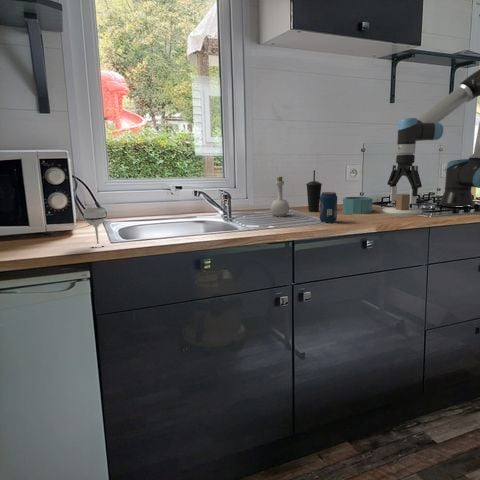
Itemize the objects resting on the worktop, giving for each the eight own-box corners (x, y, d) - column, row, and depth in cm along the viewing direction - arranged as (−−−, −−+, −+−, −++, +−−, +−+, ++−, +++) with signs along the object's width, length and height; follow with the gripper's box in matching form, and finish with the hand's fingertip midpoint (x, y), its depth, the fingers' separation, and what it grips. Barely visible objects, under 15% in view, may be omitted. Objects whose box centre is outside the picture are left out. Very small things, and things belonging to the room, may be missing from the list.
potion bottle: (278, 217, 174) (277, 177, 170) (266, 215, 181) (266, 176, 177) (293, 215, 178) (293, 176, 174) (281, 213, 185) (281, 175, 182)
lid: (405, 209, 187) (406, 192, 185) (431, 213, 171) (432, 195, 169) (374, 211, 183) (375, 193, 181) (397, 215, 167) (399, 197, 165)
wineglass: (111, 243, 128) (107, 207, 125) (107, 248, 121) (103, 210, 119) (89, 244, 127) (85, 208, 125) (84, 249, 120) (80, 211, 118)
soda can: (318, 220, 164) (319, 192, 161) (335, 220, 163) (336, 191, 160) (320, 223, 157) (321, 193, 154) (337, 223, 156) (338, 193, 154)
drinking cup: (317, 213, 185) (318, 170, 181) (303, 211, 190) (303, 170, 185) (324, 211, 191) (325, 170, 187) (310, 210, 196) (310, 170, 191)
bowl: (361, 210, 190) (362, 196, 188) (377, 213, 177) (378, 198, 176) (337, 212, 186) (338, 197, 185) (352, 215, 174) (352, 200, 173)
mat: (405, 210, 188) (405, 208, 187) (432, 214, 171) (432, 213, 170) (373, 212, 183) (373, 210, 183) (397, 217, 166) (397, 216, 166)
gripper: (381, 154, 182) (378, 199, 187) (418, 154, 159) (414, 205, 163) (394, 154, 184) (392, 199, 188) (433, 153, 160) (429, 204, 165)
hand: (402, 202), depth 176 cm, fingers open, 13 cm apart
